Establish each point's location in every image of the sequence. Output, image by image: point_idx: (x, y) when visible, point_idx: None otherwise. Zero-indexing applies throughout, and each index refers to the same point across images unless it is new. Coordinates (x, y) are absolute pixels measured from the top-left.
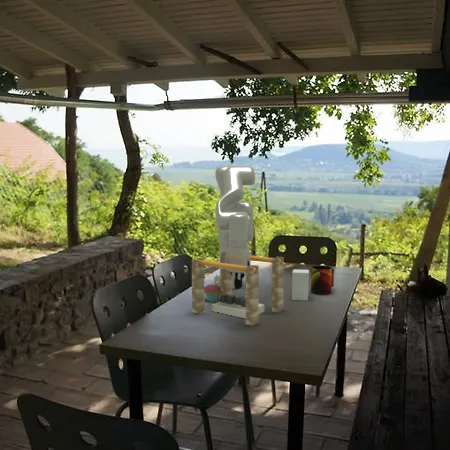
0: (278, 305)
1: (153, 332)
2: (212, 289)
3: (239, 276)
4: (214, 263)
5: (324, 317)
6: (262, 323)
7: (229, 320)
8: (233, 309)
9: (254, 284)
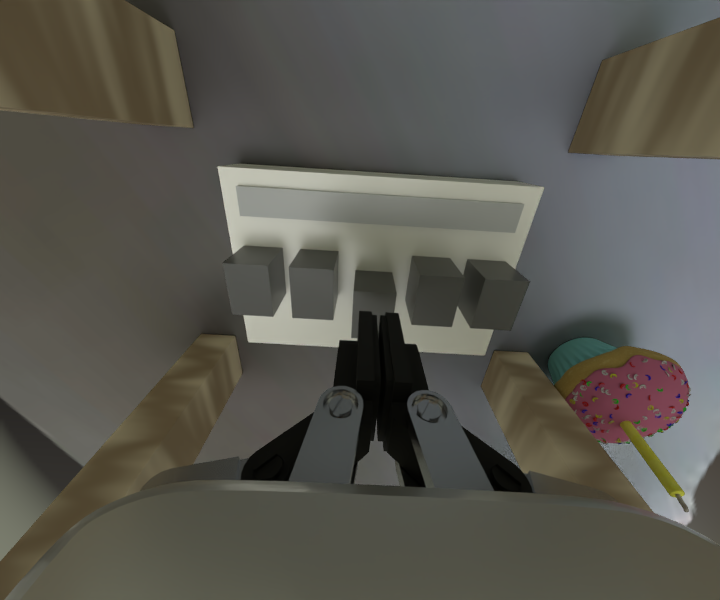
0: (181, 359)
1: None
2: (622, 379)
3: (323, 429)
4: None
5: (24, 365)
6: (121, 131)
7: (324, 57)
8: (351, 174)
9: None
